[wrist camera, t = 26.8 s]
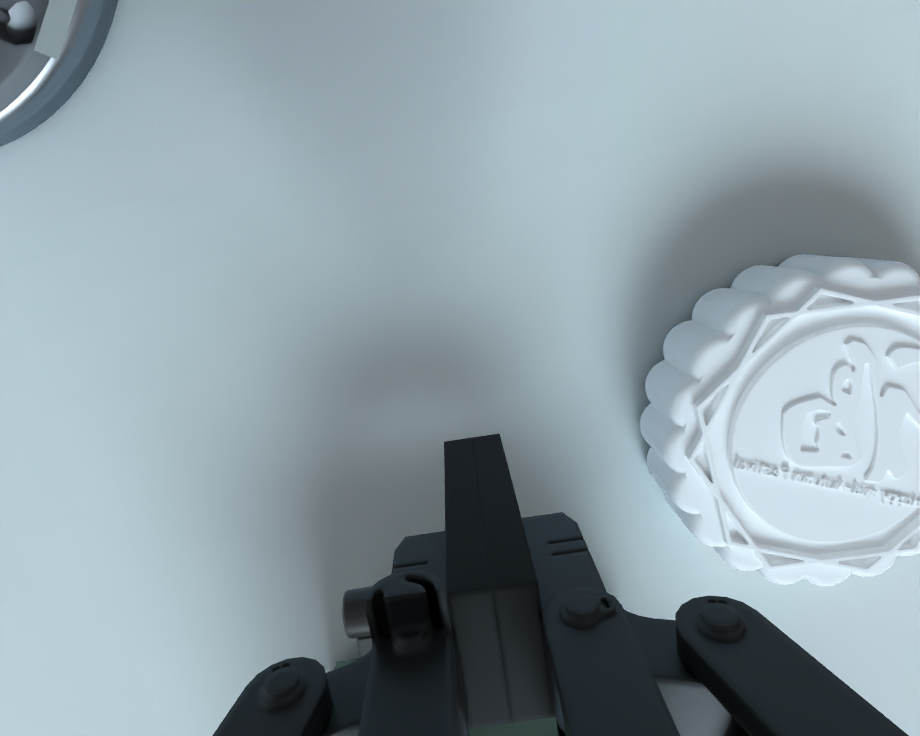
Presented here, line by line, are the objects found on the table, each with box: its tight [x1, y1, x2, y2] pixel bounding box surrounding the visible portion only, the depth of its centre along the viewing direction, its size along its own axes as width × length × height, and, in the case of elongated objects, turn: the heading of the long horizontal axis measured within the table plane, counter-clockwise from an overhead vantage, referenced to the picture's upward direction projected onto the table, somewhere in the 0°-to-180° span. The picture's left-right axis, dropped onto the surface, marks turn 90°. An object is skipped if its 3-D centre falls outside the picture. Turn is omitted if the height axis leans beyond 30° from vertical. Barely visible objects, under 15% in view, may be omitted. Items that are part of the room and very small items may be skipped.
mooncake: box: [640, 254, 920, 586], centre depth 22 cm, size 12×12×4 cm
